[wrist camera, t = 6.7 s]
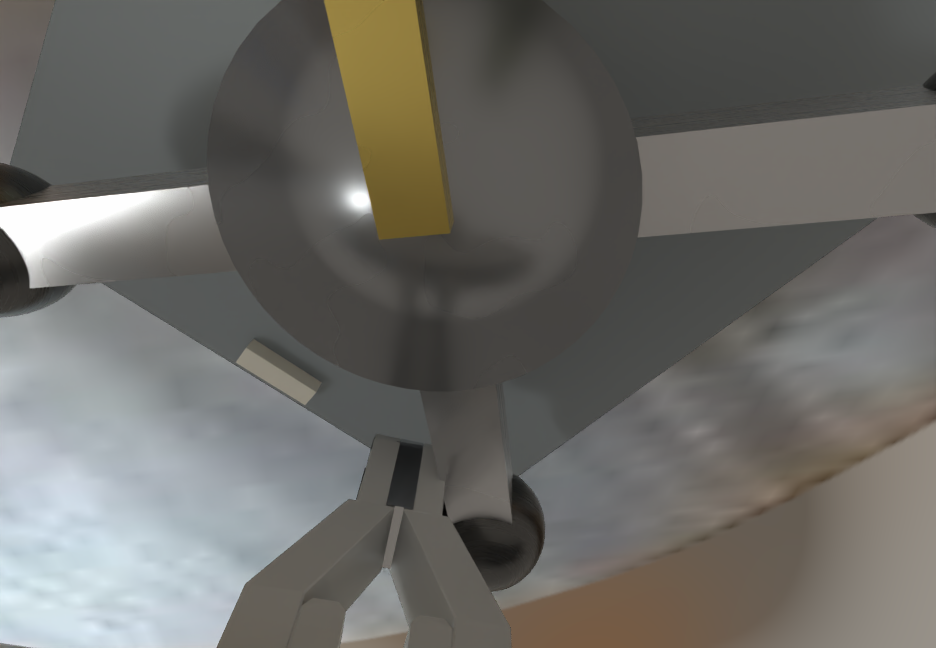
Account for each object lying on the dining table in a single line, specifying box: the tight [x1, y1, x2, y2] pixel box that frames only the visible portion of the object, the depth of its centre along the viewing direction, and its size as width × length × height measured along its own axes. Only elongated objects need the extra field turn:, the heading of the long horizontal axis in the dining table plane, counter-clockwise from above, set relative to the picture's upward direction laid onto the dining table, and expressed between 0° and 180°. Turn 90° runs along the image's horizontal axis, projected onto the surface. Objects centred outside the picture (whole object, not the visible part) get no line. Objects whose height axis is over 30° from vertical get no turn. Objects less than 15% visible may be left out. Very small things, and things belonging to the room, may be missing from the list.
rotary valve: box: [10, 0, 936, 476], centre depth 10 cm, size 16×14×5 cm
